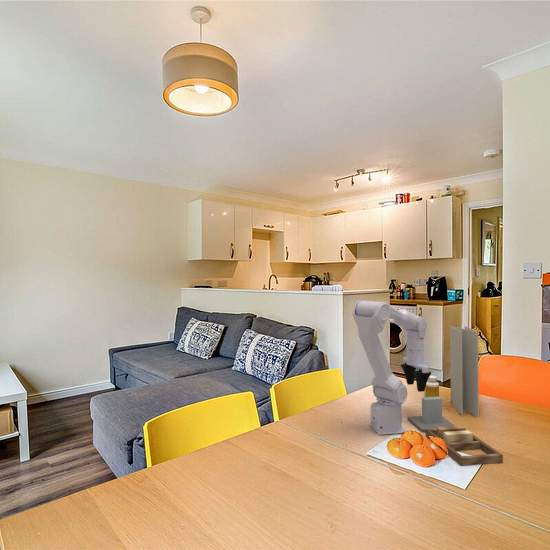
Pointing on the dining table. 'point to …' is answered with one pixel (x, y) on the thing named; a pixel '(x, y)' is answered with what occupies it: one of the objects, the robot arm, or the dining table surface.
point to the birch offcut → (458, 436)
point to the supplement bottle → (431, 387)
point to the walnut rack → (452, 448)
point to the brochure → (464, 369)
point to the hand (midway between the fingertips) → (415, 387)
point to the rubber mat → (422, 426)
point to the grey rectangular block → (432, 410)
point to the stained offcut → (448, 430)
